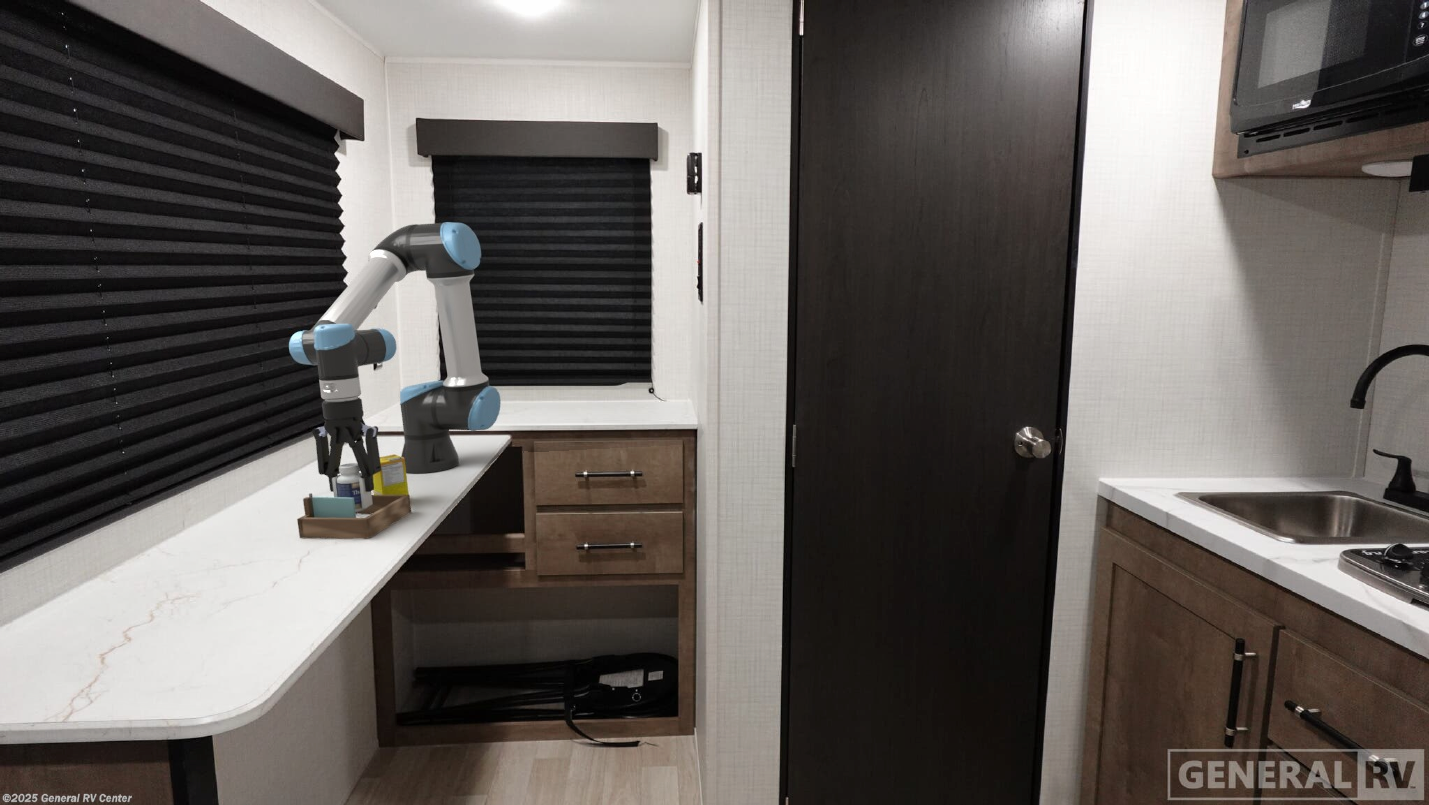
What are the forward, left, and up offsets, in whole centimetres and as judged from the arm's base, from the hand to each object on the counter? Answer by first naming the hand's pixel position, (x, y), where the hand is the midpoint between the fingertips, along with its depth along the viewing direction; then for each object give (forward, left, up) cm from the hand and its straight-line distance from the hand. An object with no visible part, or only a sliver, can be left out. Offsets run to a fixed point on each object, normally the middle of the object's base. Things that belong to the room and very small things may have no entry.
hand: (354, 505), depth 166 cm
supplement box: (-14, +1, -4) cm, 14 cm away
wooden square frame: (+1, +1, -4) cm, 4 cm away
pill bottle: (0, 0, -1) cm, 1 cm away
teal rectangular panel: (+5, -1, -4) cm, 7 cm away
